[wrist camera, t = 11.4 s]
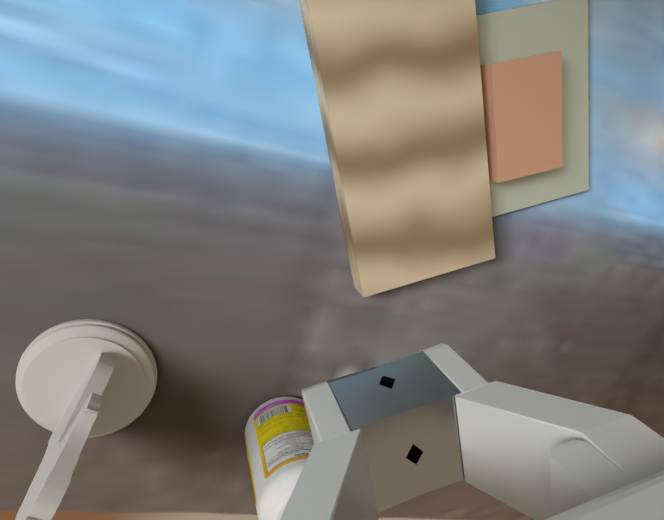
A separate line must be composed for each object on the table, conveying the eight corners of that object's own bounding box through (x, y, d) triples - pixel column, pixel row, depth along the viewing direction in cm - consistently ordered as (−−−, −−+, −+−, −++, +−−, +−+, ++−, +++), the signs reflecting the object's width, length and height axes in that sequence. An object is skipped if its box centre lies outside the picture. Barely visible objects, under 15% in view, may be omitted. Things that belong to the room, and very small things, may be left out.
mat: (459, 19, 37) (463, 18, 37) (582, -5, 39) (587, -6, 39) (477, 218, 43) (480, 220, 42) (584, 188, 45) (589, 189, 44)
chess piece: (180, 350, 39) (174, 485, 25) (119, 447, 40) (82, 626, 26) (56, 296, 35) (-30, 419, 22) (-7, 404, 37) (-127, 587, 23)
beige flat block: (299, 2, 34) (307, -5, 32) (455, -25, 36) (472, -34, 34) (354, 287, 41) (363, 297, 39) (480, 250, 44) (495, 258, 42)
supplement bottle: (295, 464, 45) (332, 591, 34) (230, 445, 43) (245, 575, 31) (330, 405, 44) (380, 514, 33) (265, 382, 42) (294, 491, 30)
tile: (477, 65, 38) (491, 63, 36) (544, 52, 39) (561, 50, 37) (484, 179, 41) (498, 182, 39) (546, 164, 42) (562, 166, 40)
